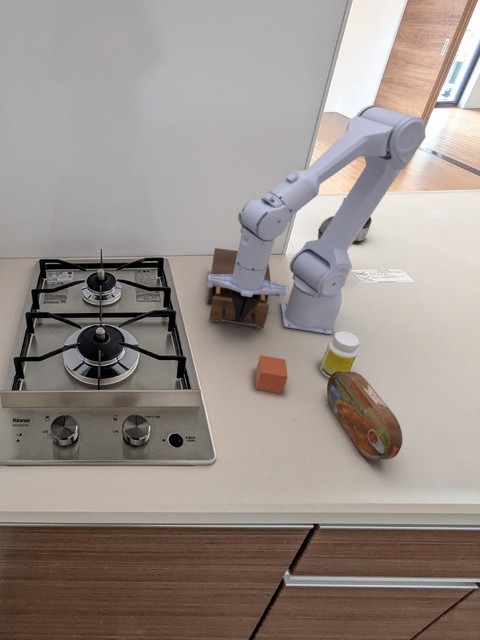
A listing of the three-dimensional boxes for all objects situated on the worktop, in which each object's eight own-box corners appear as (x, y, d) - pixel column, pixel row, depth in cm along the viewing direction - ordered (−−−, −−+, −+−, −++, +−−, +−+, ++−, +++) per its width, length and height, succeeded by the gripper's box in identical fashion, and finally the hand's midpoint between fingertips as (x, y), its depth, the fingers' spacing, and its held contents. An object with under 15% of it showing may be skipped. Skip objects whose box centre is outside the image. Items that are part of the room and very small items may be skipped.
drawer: (264, 342, 88) (270, 320, 85) (207, 333, 90) (211, 311, 87) (261, 294, 102) (266, 274, 98) (212, 287, 104) (215, 267, 101)
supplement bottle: (350, 383, 80) (365, 349, 75) (322, 379, 81) (336, 345, 76) (343, 364, 84) (357, 331, 79) (317, 361, 85) (329, 328, 80)
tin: (320, 394, 78) (334, 360, 73) (337, 393, 78) (352, 359, 73) (372, 472, 65) (392, 437, 61) (392, 470, 66) (414, 435, 61)
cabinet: (264, 312, 97) (271, 285, 93) (207, 304, 100) (212, 277, 96) (261, 279, 108) (267, 254, 104) (210, 273, 111) (214, 247, 107)
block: (280, 376, 82) (285, 359, 79) (281, 394, 78) (287, 376, 76) (255, 371, 83) (260, 354, 80) (256, 389, 79) (261, 372, 77)
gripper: (211, 267, 80) (200, 325, 87) (294, 280, 77) (276, 338, 84) (212, 249, 86) (202, 304, 93) (291, 260, 82) (274, 317, 90)
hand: (237, 319), depth 89 cm, fingers closed, pressing on drawer
